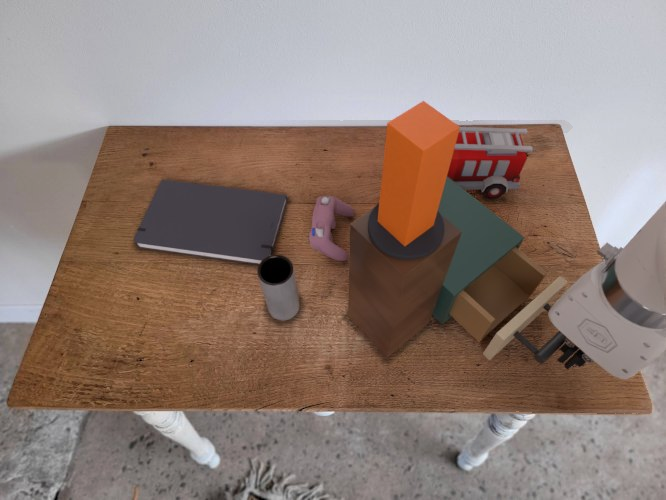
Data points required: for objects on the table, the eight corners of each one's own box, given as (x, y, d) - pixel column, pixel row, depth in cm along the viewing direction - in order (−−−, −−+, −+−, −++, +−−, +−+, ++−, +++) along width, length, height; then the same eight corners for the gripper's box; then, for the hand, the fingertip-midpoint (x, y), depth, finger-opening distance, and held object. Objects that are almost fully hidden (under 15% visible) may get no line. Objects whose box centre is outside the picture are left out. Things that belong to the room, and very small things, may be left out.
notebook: (287, 200, 79) (164, 185, 81) (286, 194, 78) (161, 179, 80) (268, 266, 72) (135, 247, 75) (267, 260, 71) (131, 241, 73)
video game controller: (332, 215, 79) (311, 189, 74) (357, 210, 77) (337, 183, 72) (323, 267, 74) (299, 242, 69) (349, 263, 72) (327, 237, 67)
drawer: (577, 329, 65) (600, 307, 59) (518, 388, 61) (536, 370, 55) (475, 243, 73) (486, 216, 67) (416, 290, 69) (422, 265, 63)
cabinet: (506, 270, 71) (525, 237, 64) (442, 324, 67) (454, 295, 60) (435, 210, 78) (444, 173, 70) (371, 256, 73) (374, 222, 66)
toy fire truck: (398, 159, 84) (404, 114, 75) (507, 158, 83) (525, 113, 75) (402, 200, 79) (409, 157, 70) (518, 199, 78) (539, 155, 70)
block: (433, 225, 48) (460, 126, 37) (404, 247, 47) (423, 151, 36) (405, 201, 50) (423, 100, 39) (377, 221, 49) (387, 122, 38)
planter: (304, 314, 68) (298, 278, 59) (273, 325, 67) (262, 290, 59) (294, 288, 70) (287, 249, 62) (264, 297, 69) (252, 260, 61)
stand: (429, 323, 67) (462, 231, 48) (386, 358, 64) (404, 276, 46) (389, 284, 70) (406, 185, 52) (347, 316, 68) (349, 223, 49)
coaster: (459, 231, 48) (460, 228, 48) (404, 273, 46) (405, 270, 45) (406, 187, 52) (407, 183, 51) (352, 224, 49) (352, 220, 49)
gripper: (555, 255, 46) (502, 332, 62) (705, 374, 40) (603, 426, 55) (602, 215, 49) (539, 298, 64) (750, 321, 42) (641, 385, 58)
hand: (569, 357), depth 60 cm, fingers closed
